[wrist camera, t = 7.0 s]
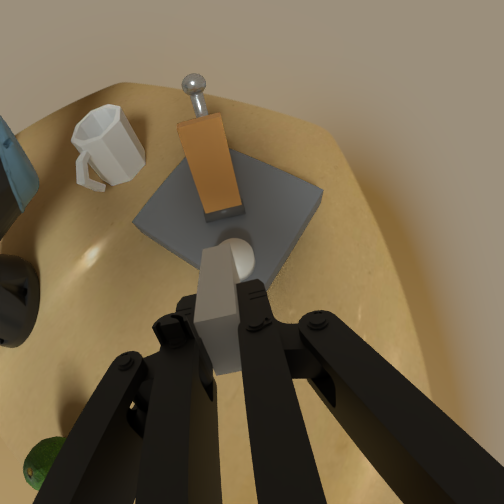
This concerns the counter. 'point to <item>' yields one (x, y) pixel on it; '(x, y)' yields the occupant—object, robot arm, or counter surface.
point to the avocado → (41, 460)
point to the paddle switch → (211, 166)
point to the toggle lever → (196, 93)
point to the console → (242, 226)
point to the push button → (242, 257)
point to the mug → (107, 148)
